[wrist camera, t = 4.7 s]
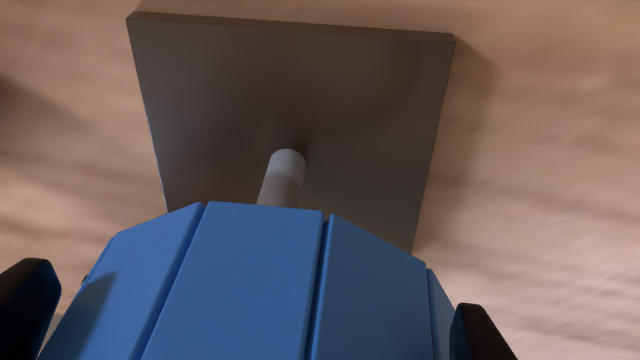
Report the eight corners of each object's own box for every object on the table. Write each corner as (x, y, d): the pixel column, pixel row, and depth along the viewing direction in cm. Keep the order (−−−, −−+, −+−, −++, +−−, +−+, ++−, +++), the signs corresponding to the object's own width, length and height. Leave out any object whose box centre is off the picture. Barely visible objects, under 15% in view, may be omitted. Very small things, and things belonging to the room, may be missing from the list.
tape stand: (407, 258, 26) (410, 347, 22) (179, 235, 26) (141, 317, 22) (453, 33, 18) (473, 104, 14) (133, 10, 19) (63, 72, 15)
